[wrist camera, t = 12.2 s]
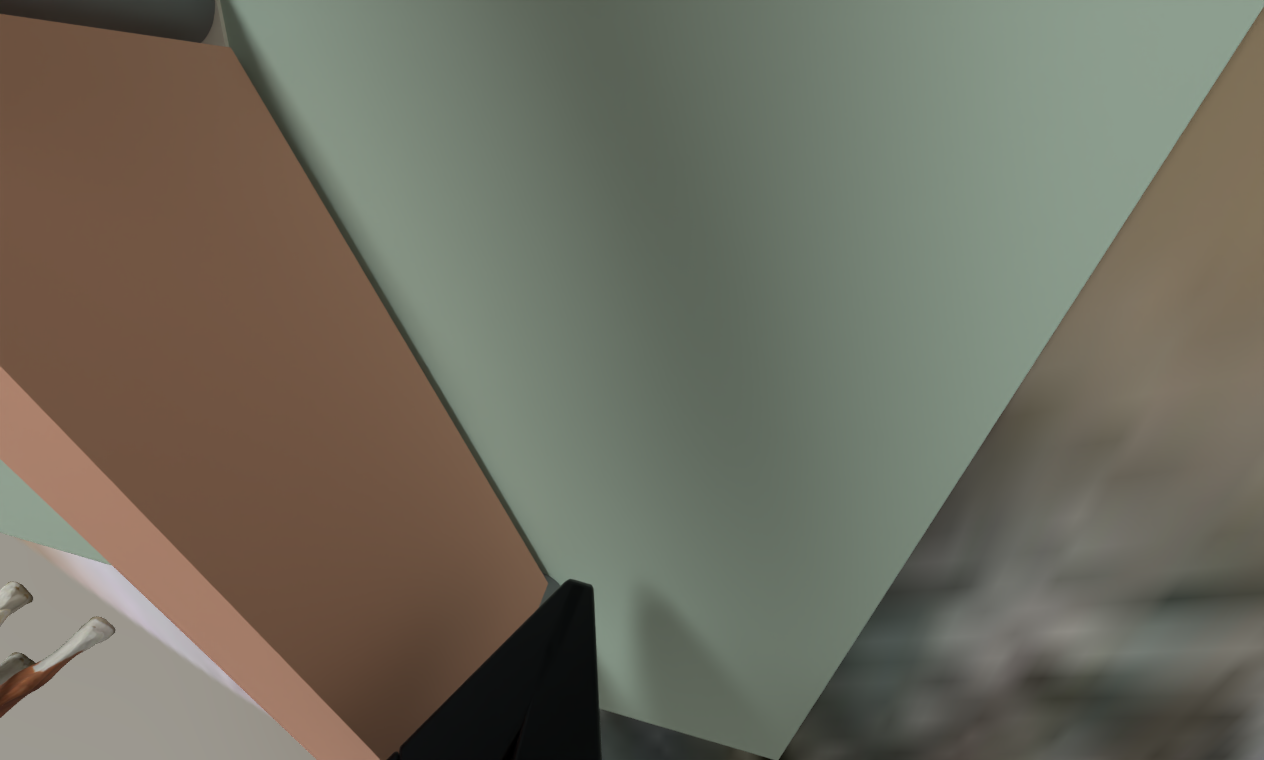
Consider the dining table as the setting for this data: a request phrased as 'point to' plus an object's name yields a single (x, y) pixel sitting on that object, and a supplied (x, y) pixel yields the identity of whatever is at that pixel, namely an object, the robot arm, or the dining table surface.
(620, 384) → the card
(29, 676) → the bull figurine
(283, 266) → the salmon brown flat block
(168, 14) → the bar
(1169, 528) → the dining table surface
